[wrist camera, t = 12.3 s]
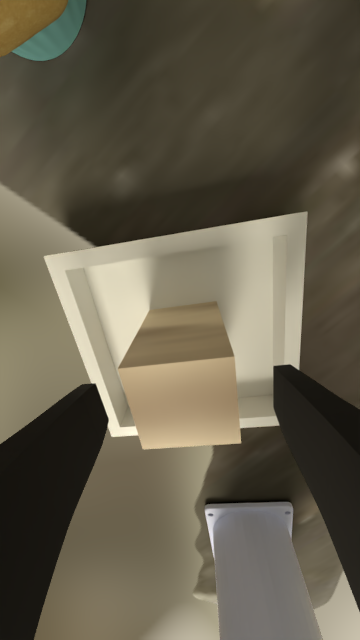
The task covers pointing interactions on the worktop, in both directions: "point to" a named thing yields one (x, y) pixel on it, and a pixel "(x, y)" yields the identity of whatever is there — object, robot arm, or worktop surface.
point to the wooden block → (182, 379)
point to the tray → (191, 302)
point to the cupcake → (39, 27)
